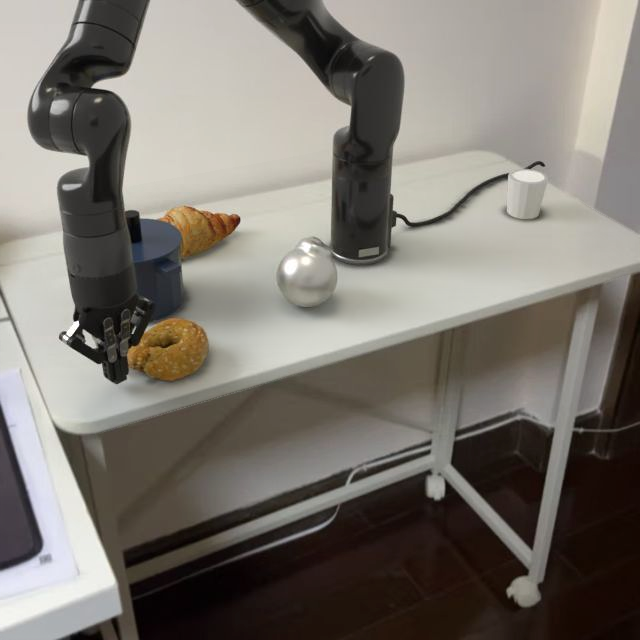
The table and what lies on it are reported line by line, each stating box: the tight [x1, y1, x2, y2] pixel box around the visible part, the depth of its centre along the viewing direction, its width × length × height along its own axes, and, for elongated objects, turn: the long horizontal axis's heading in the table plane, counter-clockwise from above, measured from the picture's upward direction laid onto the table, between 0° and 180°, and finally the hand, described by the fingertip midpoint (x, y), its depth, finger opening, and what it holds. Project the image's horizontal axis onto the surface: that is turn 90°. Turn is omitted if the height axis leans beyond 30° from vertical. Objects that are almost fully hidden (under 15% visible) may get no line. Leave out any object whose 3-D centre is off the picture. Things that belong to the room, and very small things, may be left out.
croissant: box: [155, 205, 242, 260], centre depth 141 cm, size 21×10×8 cm, turn 123°
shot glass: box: [506, 168, 549, 220], centre depth 153 cm, size 7×7×7 cm
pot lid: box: [125, 209, 182, 265], centre depth 122 cm, size 14×14×5 cm
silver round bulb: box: [276, 235, 338, 308], centre depth 126 cm, size 9×10×10 cm
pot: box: [134, 247, 185, 322], centre depth 126 cm, size 13×18×10 cm
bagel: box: [127, 317, 210, 382], centre depth 114 cm, size 10×11×5 cm
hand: (117, 379), depth 109 cm, fingers closed
